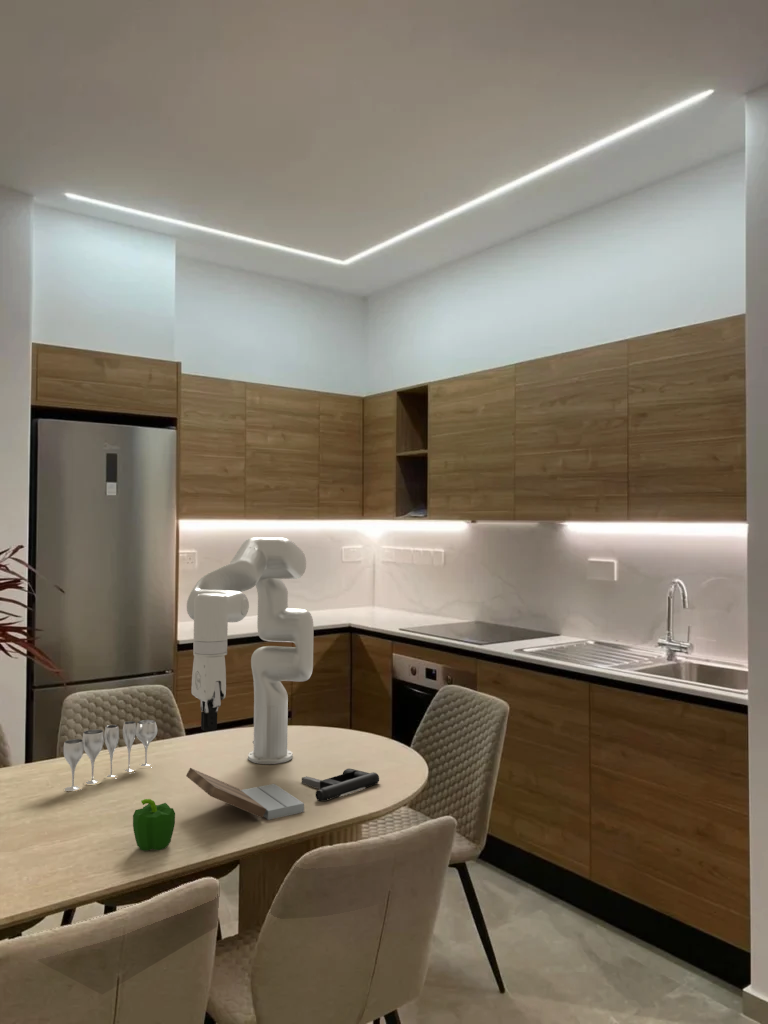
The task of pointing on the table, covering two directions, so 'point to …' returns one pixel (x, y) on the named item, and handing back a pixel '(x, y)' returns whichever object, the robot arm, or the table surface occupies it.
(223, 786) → the plank
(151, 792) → the table surface
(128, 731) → the goblet set
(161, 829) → the bell pepper
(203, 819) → the table surface
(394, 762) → the table surface
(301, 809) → the laid boards
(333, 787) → the door handle
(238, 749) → the table surface
